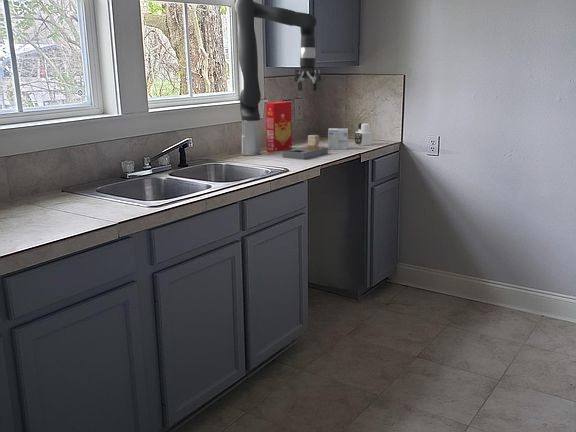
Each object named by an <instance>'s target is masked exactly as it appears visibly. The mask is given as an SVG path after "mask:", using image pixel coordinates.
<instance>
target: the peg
mask: <svg viewBox="0 0 576 432" xmlns="http://www.w3.org/2000/svg"><path fill="white" fill-rule="evenodd" d="M307 146H308V148H318V147H319V146H320V135H318V134H310V135H307Z"/></svg>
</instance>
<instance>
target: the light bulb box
mask: <svg viewBox="0 0 576 432" xmlns="http://www.w3.org/2000/svg"><path fill="white" fill-rule="evenodd" d="M327 148H328V150H348V148H349V128H347V127H346V128H344V127H343V128H340V127H339V128H338V127H337V128H330V127H329V128H328V130H327Z"/></svg>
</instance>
